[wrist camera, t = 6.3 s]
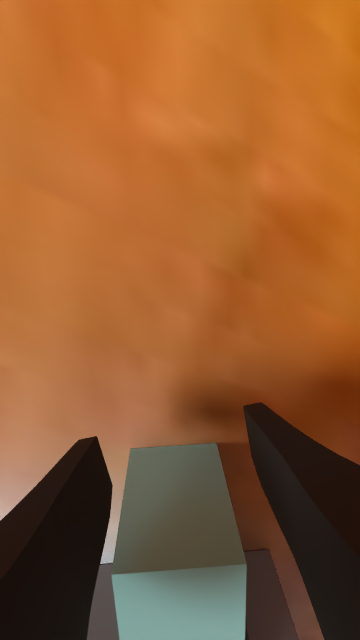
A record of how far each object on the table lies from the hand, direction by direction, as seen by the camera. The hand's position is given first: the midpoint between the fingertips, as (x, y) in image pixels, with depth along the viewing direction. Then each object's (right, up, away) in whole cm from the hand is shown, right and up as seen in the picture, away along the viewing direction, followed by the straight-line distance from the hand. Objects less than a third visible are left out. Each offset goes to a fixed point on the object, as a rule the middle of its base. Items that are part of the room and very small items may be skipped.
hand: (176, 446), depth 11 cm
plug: (0, -6, +6) cm, 9 cm away
